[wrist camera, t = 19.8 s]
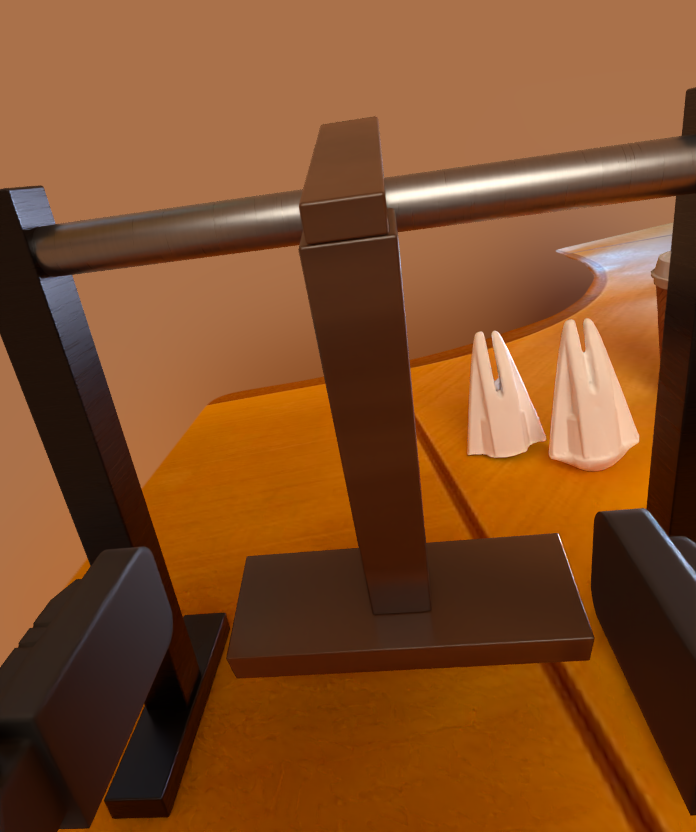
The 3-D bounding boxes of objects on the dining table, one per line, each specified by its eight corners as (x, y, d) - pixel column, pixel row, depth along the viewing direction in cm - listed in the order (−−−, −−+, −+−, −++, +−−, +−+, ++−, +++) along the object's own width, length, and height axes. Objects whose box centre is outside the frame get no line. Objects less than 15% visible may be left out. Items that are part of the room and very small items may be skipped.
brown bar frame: (589, 661, 22) (699, 172, 11) (236, 679, 23) (20, 264, 12) (530, 478, 30) (559, 87, 19) (268, 500, 31) (153, 150, 20)
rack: (112, 819, 23) (-181, 208, 13) (189, 630, 32) (46, 188, 23) (762, 803, 20) (957, 37, 11) (644, 603, 29) (696, 92, 20)
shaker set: (639, 460, 42) (652, 312, 37) (625, 488, 39) (636, 331, 34) (485, 433, 49) (481, 306, 44) (463, 455, 46) (456, 321, 41)
